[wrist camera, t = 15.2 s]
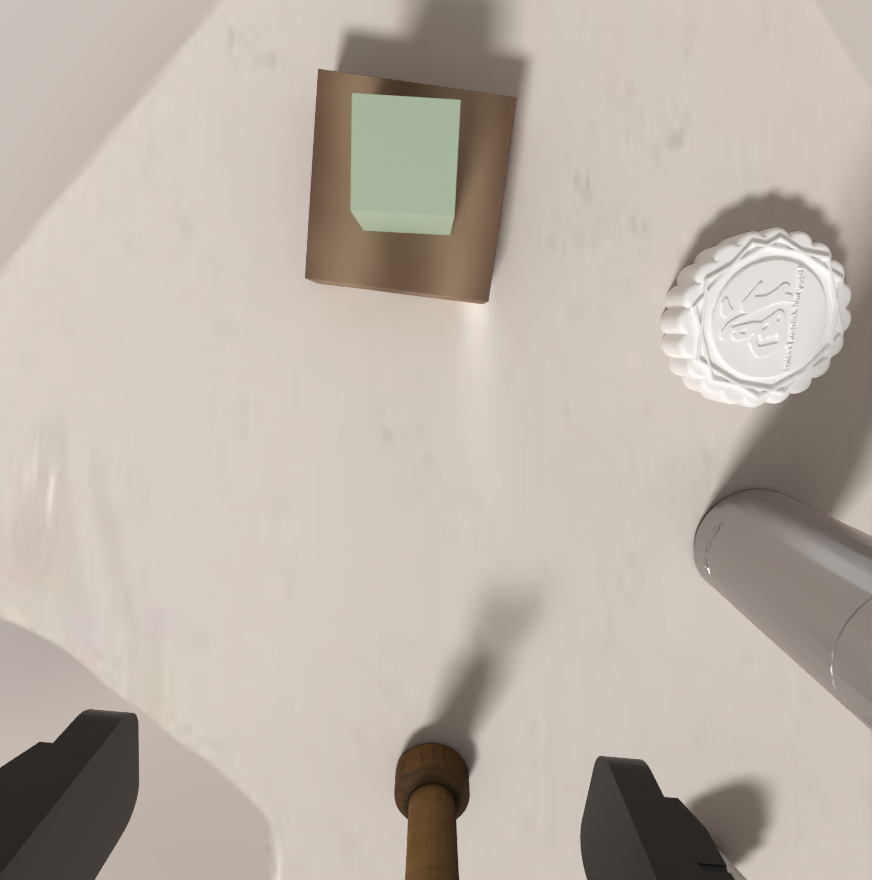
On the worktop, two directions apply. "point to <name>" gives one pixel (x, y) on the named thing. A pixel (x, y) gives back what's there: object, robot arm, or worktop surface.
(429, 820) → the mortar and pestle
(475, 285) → the walnut block
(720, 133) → the worktop surface
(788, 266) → the mooncake
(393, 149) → the sage block
